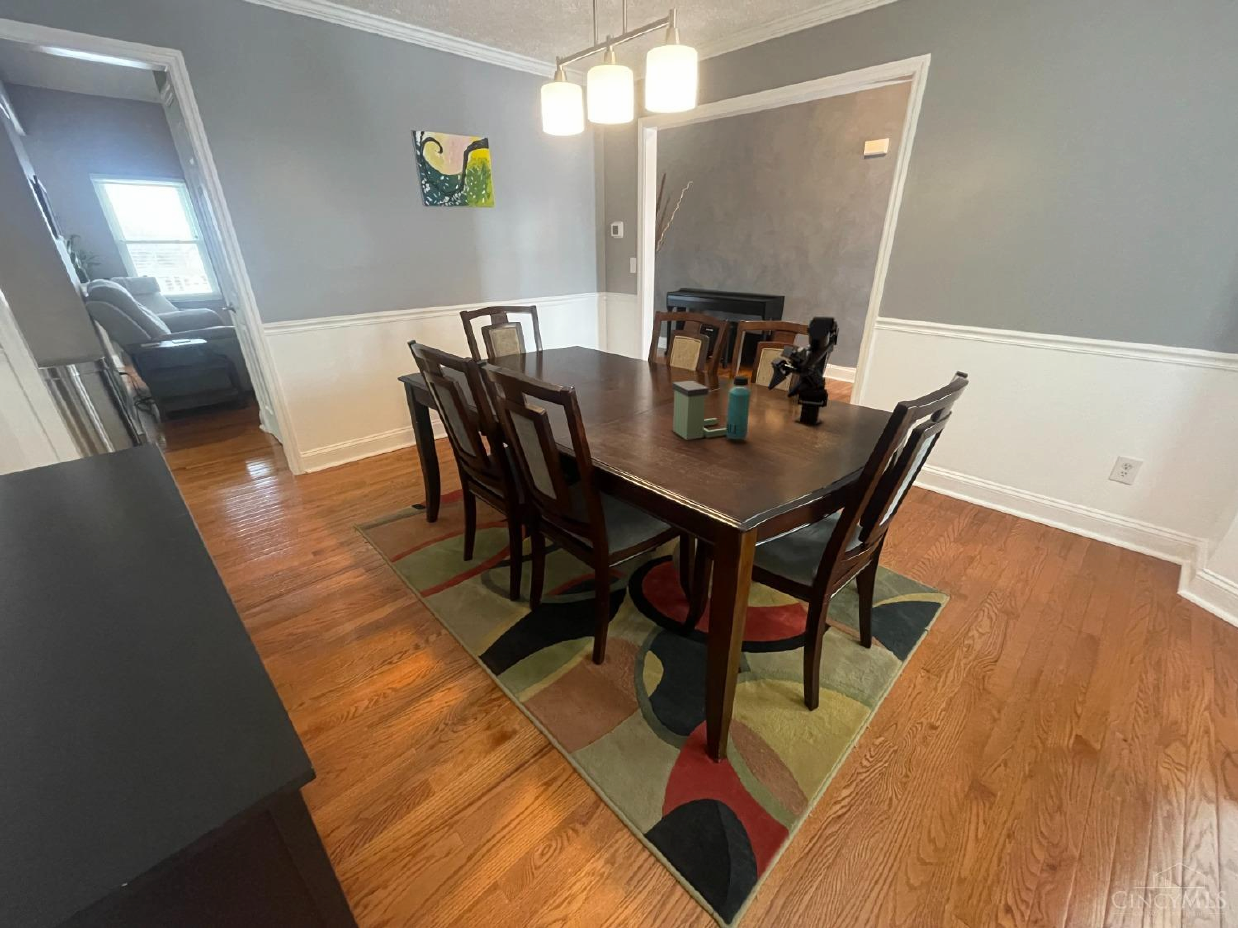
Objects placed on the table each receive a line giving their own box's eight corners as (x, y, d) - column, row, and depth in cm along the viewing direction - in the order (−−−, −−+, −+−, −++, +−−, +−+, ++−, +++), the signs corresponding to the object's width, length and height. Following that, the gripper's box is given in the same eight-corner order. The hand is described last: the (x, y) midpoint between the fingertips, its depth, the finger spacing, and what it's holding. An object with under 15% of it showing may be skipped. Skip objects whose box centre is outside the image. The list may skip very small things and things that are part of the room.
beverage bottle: (747, 437, 154) (753, 374, 145) (745, 445, 148) (752, 380, 140) (726, 435, 155) (731, 373, 147) (723, 443, 150) (728, 378, 141)
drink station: (714, 423, 166) (718, 377, 160) (733, 433, 157) (737, 384, 151) (670, 430, 161) (671, 382, 154) (686, 441, 151) (689, 390, 145)
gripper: (779, 331, 154) (746, 370, 154) (822, 341, 138) (785, 383, 139) (796, 355, 160) (764, 391, 160) (839, 366, 144) (803, 407, 144)
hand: (778, 393), depth 151 cm, fingers open, 9 cm apart
